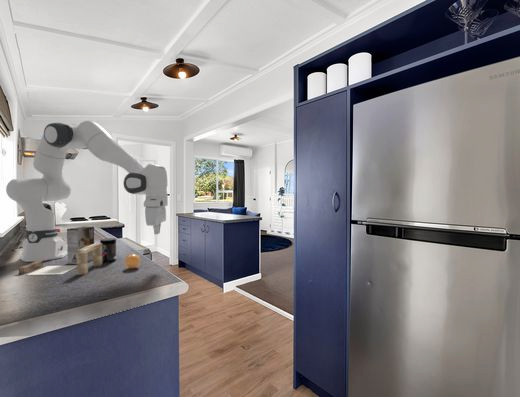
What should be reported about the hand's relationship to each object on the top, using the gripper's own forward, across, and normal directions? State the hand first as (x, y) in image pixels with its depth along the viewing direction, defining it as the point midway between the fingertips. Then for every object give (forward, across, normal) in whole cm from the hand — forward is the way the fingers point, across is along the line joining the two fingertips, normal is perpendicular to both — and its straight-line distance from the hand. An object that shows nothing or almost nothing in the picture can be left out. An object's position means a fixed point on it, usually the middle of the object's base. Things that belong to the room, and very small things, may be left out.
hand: (157, 233), depth 119 cm
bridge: (+15, 0, -27) cm, 31 cm away
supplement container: (+15, -14, -26) cm, 33 cm away
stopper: (+14, -1, -51) cm, 53 cm away
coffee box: (+15, -14, -38) cm, 43 cm away
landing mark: (+14, 0, -41) cm, 44 cm away
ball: (+12, 0, -10) cm, 16 cm away
